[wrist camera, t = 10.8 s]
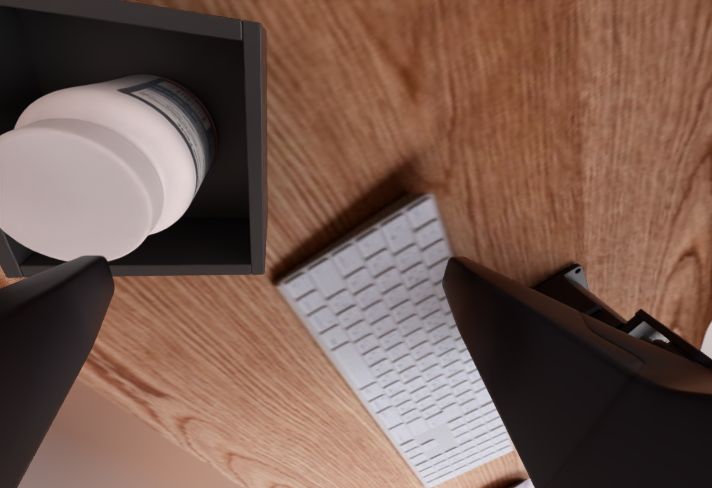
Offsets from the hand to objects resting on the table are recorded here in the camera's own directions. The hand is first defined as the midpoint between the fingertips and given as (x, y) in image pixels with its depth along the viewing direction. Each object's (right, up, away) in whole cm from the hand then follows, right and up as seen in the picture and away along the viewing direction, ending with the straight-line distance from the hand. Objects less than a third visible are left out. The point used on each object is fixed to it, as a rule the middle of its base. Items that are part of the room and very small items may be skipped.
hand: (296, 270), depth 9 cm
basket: (-8, +7, +8) cm, 13 cm away
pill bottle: (-8, +6, +8) cm, 13 cm away
